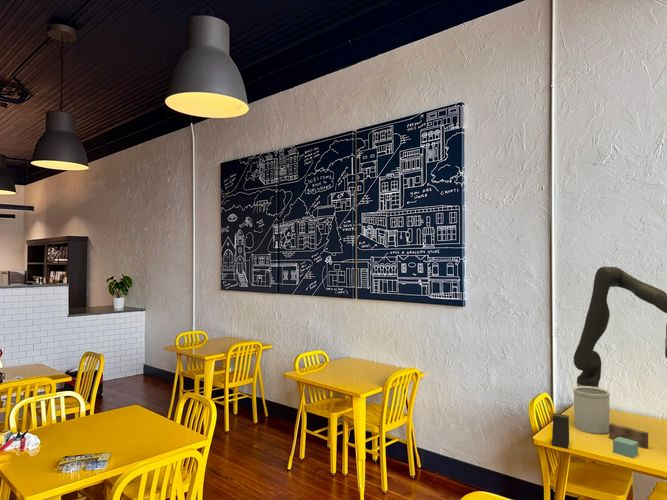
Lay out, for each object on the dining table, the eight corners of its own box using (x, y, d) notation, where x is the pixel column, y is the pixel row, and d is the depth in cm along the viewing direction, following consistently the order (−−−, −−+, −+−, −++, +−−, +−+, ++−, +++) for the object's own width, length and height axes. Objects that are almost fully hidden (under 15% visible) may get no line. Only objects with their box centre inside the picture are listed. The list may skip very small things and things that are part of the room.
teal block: (613, 452, 189) (613, 440, 189) (618, 449, 193) (618, 436, 193) (632, 458, 184) (632, 445, 184) (638, 454, 187) (638, 441, 187)
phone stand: (553, 438, 202) (553, 410, 203) (569, 441, 200) (569, 413, 200) (551, 445, 195) (552, 416, 195) (568, 448, 192) (568, 419, 192)
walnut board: (609, 438, 204) (609, 424, 204) (611, 437, 205) (611, 423, 205) (646, 448, 193) (646, 434, 193) (648, 447, 194) (648, 432, 195)
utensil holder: (567, 428, 216) (568, 389, 216) (579, 420, 226) (580, 384, 226) (603, 437, 205) (603, 396, 205) (614, 429, 215) (614, 390, 216)
